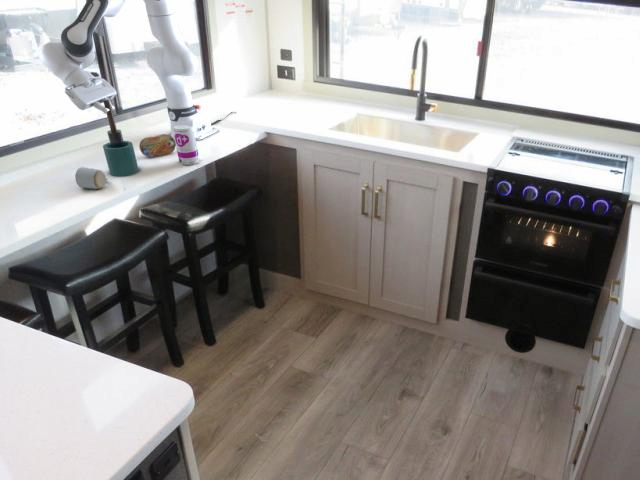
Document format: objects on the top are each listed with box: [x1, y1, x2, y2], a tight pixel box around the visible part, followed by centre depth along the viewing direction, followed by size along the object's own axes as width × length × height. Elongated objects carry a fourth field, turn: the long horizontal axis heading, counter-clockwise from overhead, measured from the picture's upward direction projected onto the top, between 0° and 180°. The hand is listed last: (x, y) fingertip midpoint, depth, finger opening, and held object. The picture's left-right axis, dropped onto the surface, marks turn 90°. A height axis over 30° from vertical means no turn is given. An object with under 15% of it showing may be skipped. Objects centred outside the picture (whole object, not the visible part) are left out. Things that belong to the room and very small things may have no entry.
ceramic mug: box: [75, 166, 109, 190], centre depth 218 cm, size 11×8×8 cm
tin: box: [138, 133, 176, 159], centre depth 249 cm, size 15×3×8 cm, turn 131°
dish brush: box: [103, 99, 124, 143], centre depth 223 cm, size 5×5×16 cm
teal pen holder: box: [102, 140, 139, 177], centre depth 231 cm, size 11×11×11 cm
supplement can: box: [173, 124, 200, 166], centre depth 240 cm, size 8×8×15 cm
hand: (110, 110), depth 221 cm, fingers closed on dish brush, 2 cm apart
